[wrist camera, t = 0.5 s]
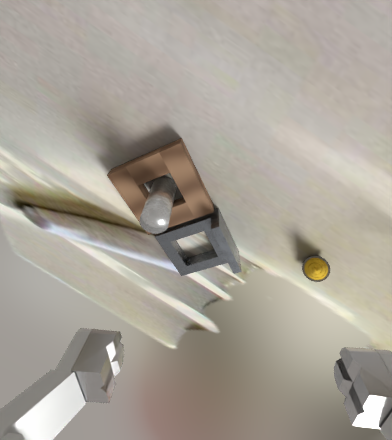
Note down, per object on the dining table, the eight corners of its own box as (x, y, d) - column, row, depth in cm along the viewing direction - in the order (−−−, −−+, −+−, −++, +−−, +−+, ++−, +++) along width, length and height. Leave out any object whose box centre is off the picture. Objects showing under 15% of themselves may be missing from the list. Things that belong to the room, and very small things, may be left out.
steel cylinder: (148, 182, 48) (134, 215, 39) (169, 173, 47) (159, 206, 38) (159, 201, 50) (148, 236, 41) (180, 193, 49) (173, 228, 40)
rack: (157, 229, 54) (151, 248, 49) (218, 207, 51) (219, 226, 46) (182, 267, 60) (179, 288, 55) (238, 251, 57) (241, 271, 52)
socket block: (111, 169, 47) (107, 175, 45) (181, 138, 43) (180, 143, 41) (150, 227, 54) (148, 234, 52) (213, 204, 50) (213, 212, 48)
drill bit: (298, 270, 60) (295, 273, 51) (311, 251, 59) (310, 250, 50) (320, 285, 58) (321, 290, 49) (334, 264, 57) (337, 266, 48)
